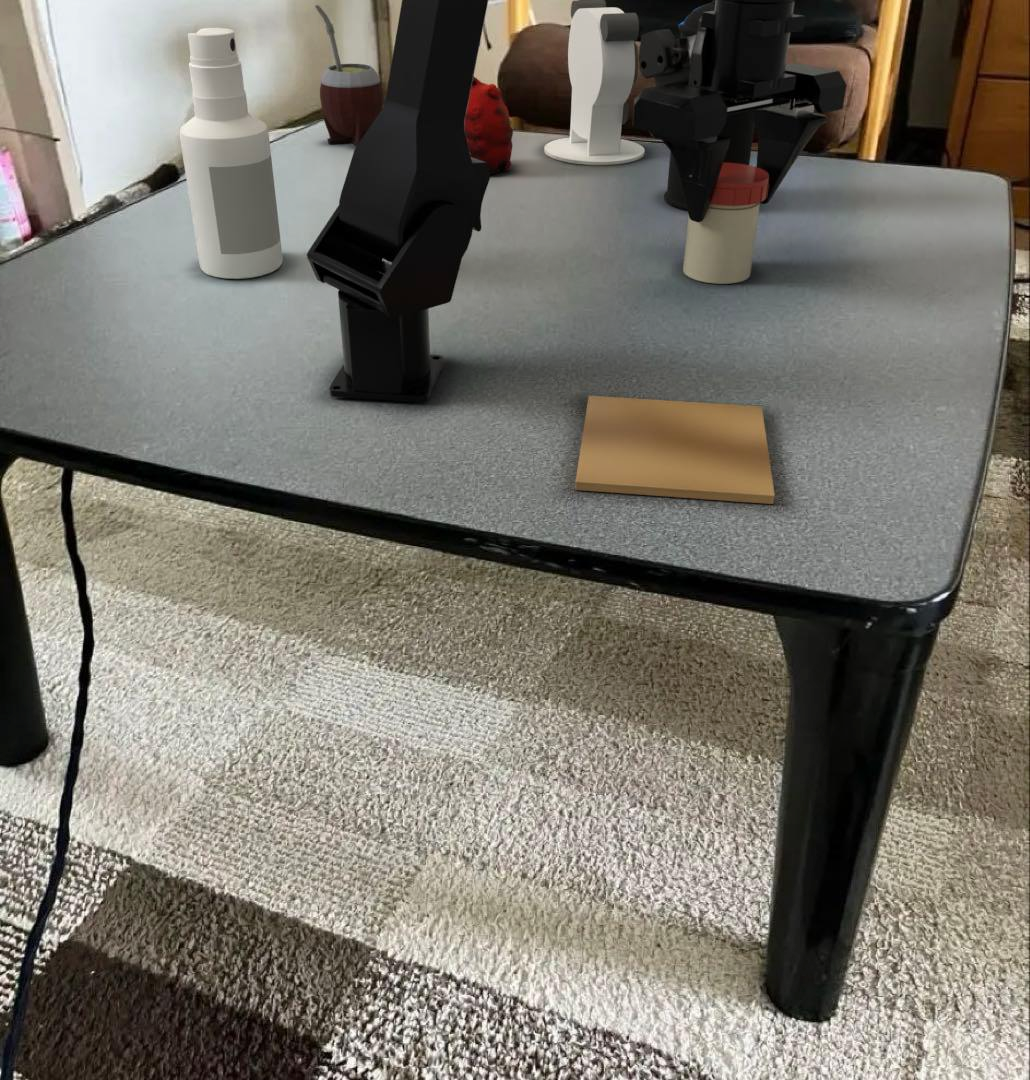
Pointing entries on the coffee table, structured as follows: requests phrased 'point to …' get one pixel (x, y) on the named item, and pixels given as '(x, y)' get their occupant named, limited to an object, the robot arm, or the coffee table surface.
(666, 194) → the aerosol can
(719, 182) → the jar lid
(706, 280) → the jar
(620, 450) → the coaster
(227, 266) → the spray bottle
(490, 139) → the red clay folk toy
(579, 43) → the white stand
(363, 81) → the mate gourd
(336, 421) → the coffee table surface
